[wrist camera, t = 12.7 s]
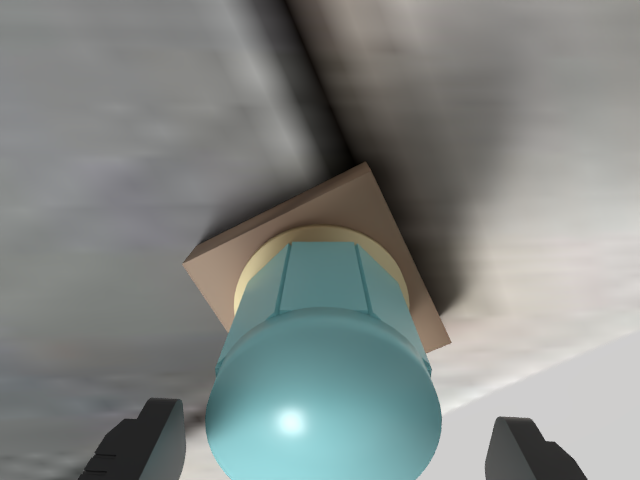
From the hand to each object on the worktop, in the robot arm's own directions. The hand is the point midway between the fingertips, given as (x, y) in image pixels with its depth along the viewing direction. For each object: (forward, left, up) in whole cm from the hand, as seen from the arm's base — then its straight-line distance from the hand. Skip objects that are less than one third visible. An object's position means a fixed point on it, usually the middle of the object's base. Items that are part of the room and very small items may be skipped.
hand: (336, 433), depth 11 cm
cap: (0, 0, -6) cm, 6 cm away
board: (0, 0, -9) cm, 9 cm away
